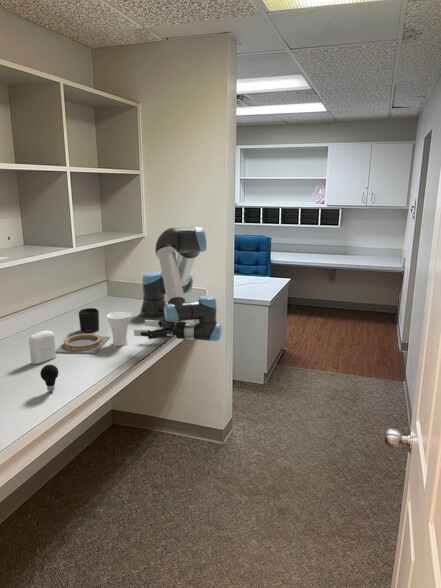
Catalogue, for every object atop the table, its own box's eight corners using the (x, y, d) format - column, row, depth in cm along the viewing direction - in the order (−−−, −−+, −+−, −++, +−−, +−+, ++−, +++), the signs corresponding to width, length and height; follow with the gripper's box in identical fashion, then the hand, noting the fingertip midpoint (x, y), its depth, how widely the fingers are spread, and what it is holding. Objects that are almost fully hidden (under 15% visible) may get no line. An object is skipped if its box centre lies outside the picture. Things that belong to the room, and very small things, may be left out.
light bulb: (49, 386, 160) (47, 361, 157) (63, 389, 158) (61, 363, 156) (38, 394, 154) (35, 367, 152) (53, 396, 153) (50, 369, 150)
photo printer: (51, 355, 188) (49, 327, 185) (57, 357, 186) (55, 329, 183) (29, 363, 180) (26, 334, 177) (35, 365, 178) (32, 336, 175)
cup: (126, 348, 196) (125, 319, 193) (104, 347, 198) (102, 318, 194) (135, 340, 206) (134, 312, 203) (114, 338, 208) (112, 311, 205)
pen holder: (75, 331, 218) (74, 312, 215) (89, 326, 226) (88, 307, 223) (90, 334, 213) (88, 314, 211) (103, 329, 222) (102, 309, 219)
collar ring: (72, 337, 208) (72, 333, 208) (106, 338, 207) (106, 334, 207) (58, 349, 193) (58, 345, 192) (94, 350, 192) (94, 346, 191)
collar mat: (72, 336, 210) (72, 335, 210) (109, 337, 209) (109, 336, 209) (54, 352, 191) (54, 351, 191) (95, 354, 190) (95, 352, 190)
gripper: (178, 348, 183) (129, 345, 187) (193, 329, 207) (149, 326, 211) (178, 331, 182) (128, 328, 185) (192, 314, 205) (149, 311, 209)
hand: (139, 327), depth 198 cm, fingers open, 13 cm apart
